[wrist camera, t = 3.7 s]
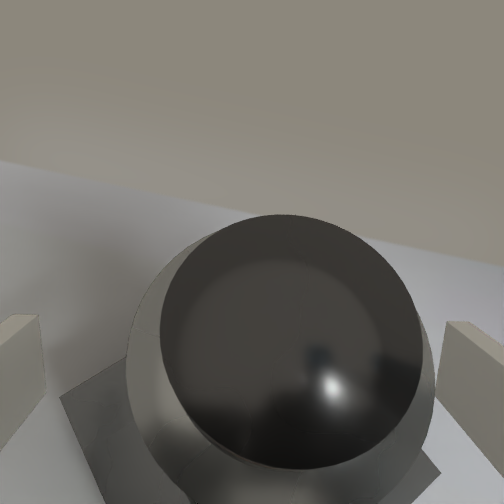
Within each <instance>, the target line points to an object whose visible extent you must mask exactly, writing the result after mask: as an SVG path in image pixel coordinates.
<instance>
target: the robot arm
mask: <svg viewBox="0 0 504 504" xmlns="http://www.w3.org/2000/svg"><path fill="white" fill-rule="evenodd" d="M45 394H46V383H45V374H44V364H43V354H42V344H41V335H40V325H39V315H26V314H13V315H12V316H10V317H9V318H7V319H6V320H5V321H3V322H2V323H0V451H1V450H2V448H3V447H4V446H5V445H6V443H7V442H8V441H9V439H10V438H11V437H12V436H13V434H14V433H15V432H16V431H17V429H18V428H19V427H20V426H21V424H22V423H23V422H24V420H25V419H26V418H27V417H28V415H29V414H30V413H31V412H32V410H33V409H34V408H35V406H36V405H37V404H38V403H39V401H40V400H41V399H42V398H43V396H44V395H45ZM435 397H436V398H437V399H438V400H439V401H440V402H441V404H442V405H443V406H444V407H445V408H446V410H447V411H448V412H449V413H450V414H451V416H452V417H453V418H454V419H455V420H456V422H457V423H458V424H459V425H460V426H461V428H462V429H463V430H464V431H465V432H466V434H467V435H468V436H469V437H470V438H471V440H472V441H473V442H474V443H475V444H476V446H477V447H478V448H479V449H480V450H481V452H482V453H483V454H484V455H485V456H486V458H487V459H488V460H489V461H490V462H491V464H492V465H493V466H494V467H495V468H496V470H497V471H498V472H499V473H500V474H501V475H502V477H503V478H504V346H503V345H501V344H500V343H499V342H497V341H496V340H494V339H493V338H491V337H490V336H489V335H487V334H486V333H484V332H483V331H482V330H480V329H479V328H477V327H476V326H474V325H473V324H472V323H470V322H455V321H447V323H446V328H445V334H444V340H443V346H442V352H441V358H440V364H439V369H438V375H437V381H436V387H435Z"/></svg>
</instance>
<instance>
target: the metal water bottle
mask: <svg viewBox="0 0 504 504" xmlns="http://www.w3.org/2000/svg"><path fill="white" fill-rule="evenodd" d="M126 380H127V388H128V396H129V401H130V405H131V409H132V412H133V416H134V420H135V422H136V425H137V427H138V429H139V432H140V434H141V436H142V439H143V441H144V443H145V445H146V446H147V448H148V450H149V451H150V453H151V454H152V456H153V458H154V459H155V461H156V463H157V464H158V465H159V466H160V467H161V469H162V470H163V471H164V472H165V474H166V475H167V476H168V477H169V478H170V480H171V481H172V482H173V483H174V484H176V485H177V486H178V487H179V488H180V489H181V490H182V491H183V492H184V493H185V494H186V495H188V496H189V497H190V498H191V499H193V500H194V501H196V502H197V503H199V504H376V503H378V502H379V501H380V500H381V499H382V498H384V497H385V496H386V495H387V494H388V493H390V492H391V491H392V490H393V489H394V487H395V486H396V485H397V484H398V483H399V482H400V481H401V479H402V478H403V477H404V476H405V475H406V474H407V472H408V470H409V469H410V467H411V466H412V464H413V462H414V461H415V459H416V458H417V456H418V454H419V452H420V450H421V447H422V445H423V443H424V440H425V438H426V436H427V432H428V429H429V425H430V421H431V418H432V413H433V405H434V397H435V372H434V365H433V358H432V352H431V348H430V344H429V341H428V337H427V334H426V331H425V329H424V326H423V324H422V321H421V319H420V316H419V314H418V313H417V311H416V308H415V306H414V303H413V301H412V298H411V296H410V294H409V292H408V291H407V289H406V287H405V285H404V283H403V282H402V280H401V279H400V277H399V276H398V274H397V273H396V272H395V270H394V269H393V268H392V267H391V266H390V264H389V263H388V262H387V261H386V260H385V259H384V258H383V257H382V256H381V255H380V254H379V253H378V252H377V251H376V250H375V249H374V248H372V247H371V246H370V245H368V244H367V243H366V242H364V241H363V240H362V239H360V238H359V237H357V236H355V235H353V234H352V233H350V232H348V231H346V230H344V229H342V228H340V227H338V226H336V225H333V224H330V223H327V222H324V221H321V220H318V219H313V218H309V217H304V216H296V215H267V216H260V217H255V218H250V219H246V220H243V221H240V222H237V223H234V224H232V225H230V226H228V227H225V228H223V229H221V230H219V231H217V232H215V233H213V234H210V235H208V236H206V237H204V238H202V239H200V240H199V241H197V242H195V243H194V244H192V245H190V246H189V247H187V248H186V249H185V250H184V251H182V252H181V253H180V254H178V255H177V256H176V257H175V258H174V259H173V260H172V261H171V262H170V263H169V264H168V265H167V266H166V267H165V268H164V269H163V270H162V271H161V272H160V274H159V275H158V276H157V277H156V279H155V280H154V281H153V283H152V284H151V285H150V287H149V289H148V291H147V292H146V294H145V296H144V297H143V299H142V301H141V303H140V306H139V308H138V310H137V313H136V315H135V317H134V321H133V324H132V328H131V332H130V335H129V341H128V348H127V355H126Z"/></svg>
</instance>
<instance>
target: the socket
mask: <svg viewBox="0 0 504 504" xmlns="http://www.w3.org/2000/svg"><path fill="white" fill-rule="evenodd" d="M59 398H60V400H61V402H62V405H63V407H64V409H65V411H66V414H67V416H68V418H69V421H70V423H71V425H72V427H73V430H74V432H75V434H76V437H77V439H78V441H79V443H80V446H81V448H82V450H83V453H84V455H85V457H86V459H87V462H88V464H89V466H90V469H91V471H92V473H93V476H94V478H95V480H96V482H97V485H98V487H99V489H100V492H101V494H102V496H103V498H104V501H105V503H106V504H196V502H195V501H194V500H193V499H191V498H190V497H189V496H188V495H186V494H185V493H184V492H183V491H182V490H181V489H180V488H179V487H178V486H177V485H176V484H174V483H173V482H172V481H171V480H170V478H169V477H168V476H167V475H166V474H165V472H164V471H163V470H162V469H161V467H160V466H159V465H158V464H157V463H156V461H155V459H154V458H153V456H152V454H151V453H150V451H149V450H148V448H147V446H146V445H145V443H144V441H143V439H142V436H141V434H140V432H139V429H138V427H137V425H136V422H135V420H134V416H133V412H132V409H131V405H130V401H129V396H128V388H127V380H126V357H125V358H123V359H122V360H120V361H118V362H117V363H115V364H114V365H112V366H110V367H109V368H107V369H105V370H104V371H102V372H100V373H99V374H97V375H95V376H94V377H92V378H90V379H89V380H87V381H85V382H84V383H82V384H80V385H79V386H77V387H76V388H74V389H72V390H71V391H69V392H67V393H66V394H64V395H62V396H61V397H59ZM440 474H441V472H440V471H439V470H438V469H437V467H436V466H435V465H434V464H433V462H432V461H431V460H430V459H429V457H428V456H427V455H426V454H425V453H424V451H423V450H422V449H421V450H420V452H419V454H418V456H417V458H416V459H415V461H414V462H413V464H412V466H411V467H410V469H409V470H408V472H407V474H406V475H405V476H404V477H403V478H402V479H401V481H400V482H399V483H398V484H397V485H396V486H395V487H394V489H393V490H392V491H391V492H390V493H388V494H387V495H386V496H385V497H384V498H382V499H381V500H380V501H379V502H378V503H376V504H411V503H412V502H413V501H414V500H415V499H416V498H417V497H418V496H419V495H420V494H421V493H422V492H423V491H424V490H425V489H426V488H427V487H428V486H429V485H430V484H431V483H432V482H433V481H434V480H435V479H436V478H437V477H438V476H439V475H440Z"/></svg>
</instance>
